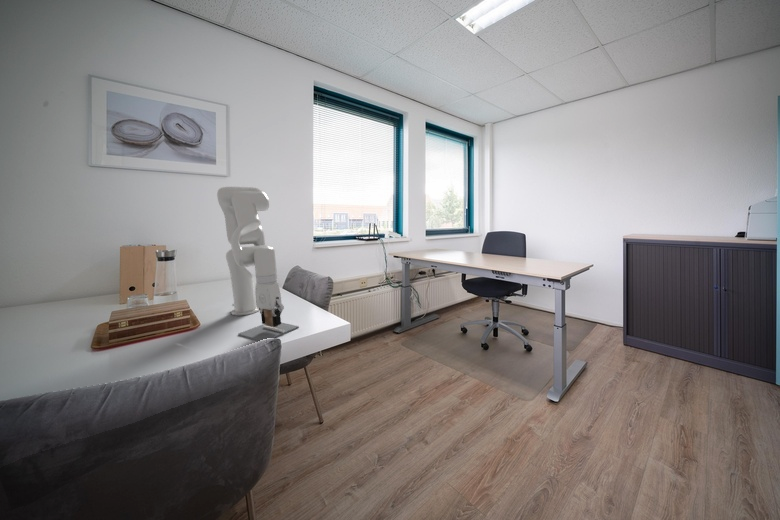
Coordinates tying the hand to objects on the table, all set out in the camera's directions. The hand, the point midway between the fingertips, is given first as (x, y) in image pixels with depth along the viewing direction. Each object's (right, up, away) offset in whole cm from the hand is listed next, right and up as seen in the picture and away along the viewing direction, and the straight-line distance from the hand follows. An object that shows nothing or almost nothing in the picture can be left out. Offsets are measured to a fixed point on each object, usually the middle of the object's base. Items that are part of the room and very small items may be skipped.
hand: (271, 323), depth 115 cm
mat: (-2, -3, +2) cm, 4 cm away
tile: (0, -1, 0) cm, 1 cm away
